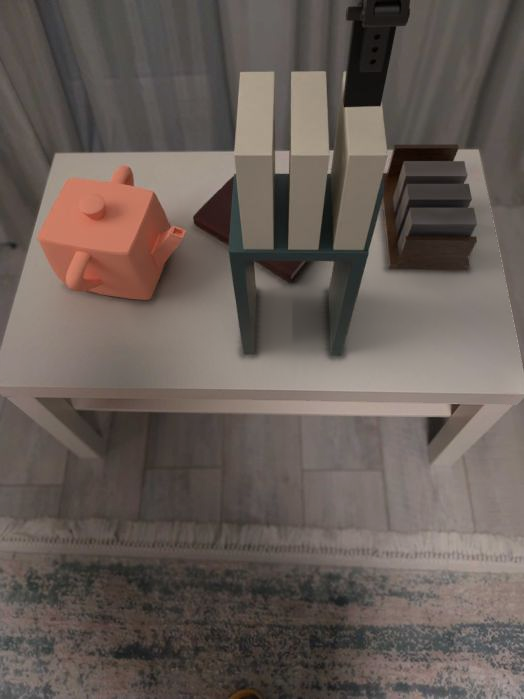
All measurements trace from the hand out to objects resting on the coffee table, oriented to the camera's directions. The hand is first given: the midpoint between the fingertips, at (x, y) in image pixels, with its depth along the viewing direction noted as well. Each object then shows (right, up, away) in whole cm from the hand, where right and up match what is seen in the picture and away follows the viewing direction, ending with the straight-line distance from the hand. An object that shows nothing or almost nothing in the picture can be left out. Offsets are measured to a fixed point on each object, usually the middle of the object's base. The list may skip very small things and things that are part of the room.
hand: (354, 46), depth 40 cm
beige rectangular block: (-8, -10, +12) cm, 17 cm away
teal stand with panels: (-3, -20, +34) cm, 39 cm away
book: (-7, -5, +41) cm, 42 cm away
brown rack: (+19, -3, +41) cm, 45 cm away
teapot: (-27, -11, +39) cm, 49 cm away
